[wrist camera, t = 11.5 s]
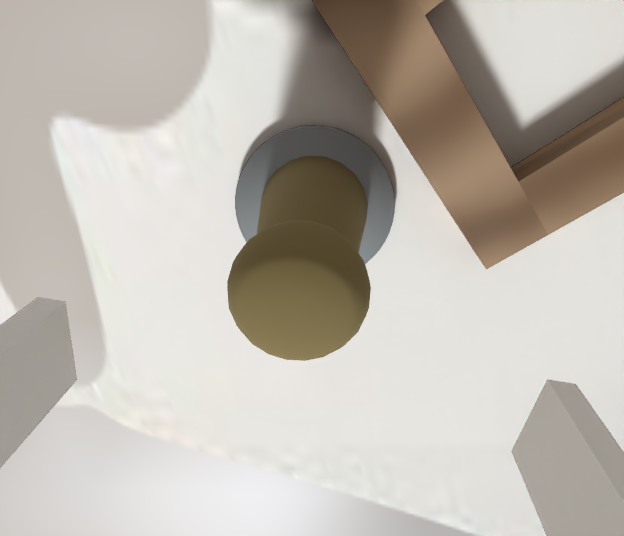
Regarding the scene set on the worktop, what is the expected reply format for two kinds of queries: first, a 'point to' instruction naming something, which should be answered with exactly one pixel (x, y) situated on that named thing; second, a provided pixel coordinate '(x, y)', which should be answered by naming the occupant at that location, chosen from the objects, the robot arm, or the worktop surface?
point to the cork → (304, 262)
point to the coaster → (330, 146)
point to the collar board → (473, 133)
